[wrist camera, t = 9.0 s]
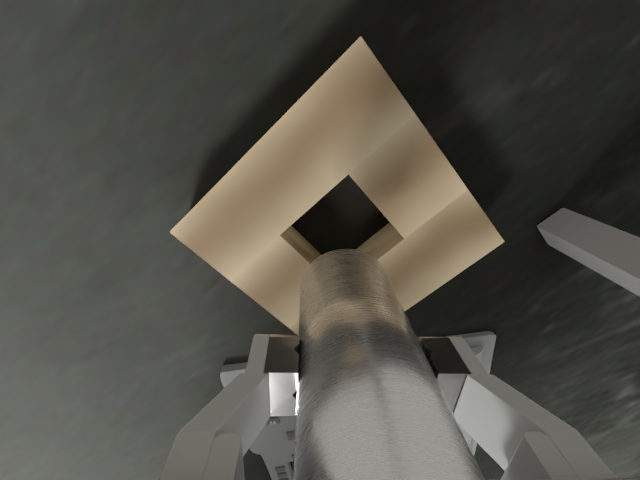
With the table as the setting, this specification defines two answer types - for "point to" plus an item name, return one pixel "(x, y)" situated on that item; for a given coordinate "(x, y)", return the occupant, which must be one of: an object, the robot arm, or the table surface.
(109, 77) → the table surface
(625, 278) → the pink-topped arch frame
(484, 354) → the office telephone
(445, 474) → the peg
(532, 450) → the robot arm
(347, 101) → the socket block
